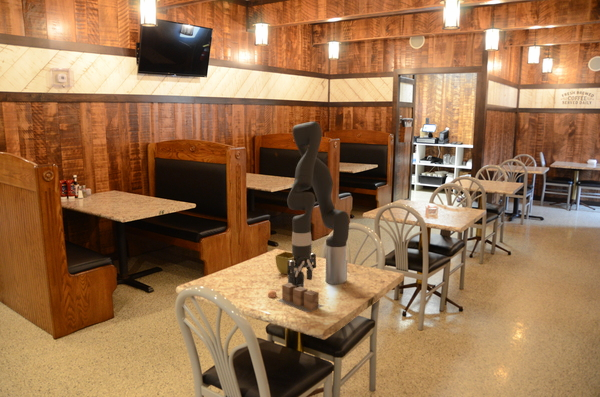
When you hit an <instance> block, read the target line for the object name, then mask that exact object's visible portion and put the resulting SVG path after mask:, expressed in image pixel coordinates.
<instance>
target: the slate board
mask: <svg viewBox="0 0 600 397" xmlns="http://www.w3.org/2000/svg"><path fill="white" fill-rule="evenodd" d="M277 302H279V303H282V304H285V305H287V306H290V307H292V308H295V309H298V310H301V311H303V312H306V313H310V312H313V311H315V310H317V309H320V308H322V307H324V305H323V304H320V303H319V306H318V308H316V309H313V310H310V309H307V308H304V305H302V306H299V305H296V304H294V303H293V301H290V302H288V301H286V300H283V299H282V298H281V299H278V300H277Z"/></svg>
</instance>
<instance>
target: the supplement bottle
mask: <svg viewBox="0 0 600 397" xmlns="http://www.w3.org/2000/svg"><path fill="white" fill-rule="evenodd" d="M296 268H297V267H296ZM297 269H298V268H297ZM290 272H291V271H290ZM295 272H296V271H295ZM295 272H294V273H295ZM287 283H292V278H291V276H289V275H287ZM300 286H301V287H303V288H305V287H304V286H305V273H304V272H303V269H301V270H300V272H299V273H298V275H297V286H296V288H297V287H300Z"/></svg>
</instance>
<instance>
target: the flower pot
mask: <svg viewBox="0 0 600 397" xmlns="http://www.w3.org/2000/svg"><path fill="white" fill-rule="evenodd" d="M274 258H275V265H276V268H277V270H278V271H279V273H280V274H284V275H287V265H288V260H293V259H294V256H293V254H292V252H290V251H283V252H281V253H279V254H278V253H277V254H276V255H275V257H274ZM290 271H291V270H290Z"/></svg>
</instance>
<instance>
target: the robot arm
mask: <svg viewBox="0 0 600 397" xmlns="http://www.w3.org/2000/svg"><path fill="white" fill-rule="evenodd" d="M322 132H323V131H322V127H321V126H320V123H318V122H317V121H309V122H304V123H298V124H296V125H294V126H293V128H292V137H293V140H294V142H295V145H296V148H297V149H298V152H299V154H300V156H301V158H300V160H299V161H298V163H297V165H296V167H295V172H294V173H295V174H294V180H293V181H294V182H293V184H292V187H291V189H290V191H289V193H288V196H287V199H286V202H287V206H288V208H289V209H290V210H293V211H304V213H303V214H300V215H295V216H293V218H292V234H291V249H292V250H291V253H292V254H293V256H294V259H293V260H288V265H287V274H286V275H287V276H288V275H289V276H291V278H292V285H294V286H297V275H298V273H299V272H300V270H301V269H302V270H303V269H304V268H305V269H306V279H307V281H308V280H309V281H312V279H313V270H314V269H316V268H317V257H316V256H317V254H316V253H313V252H312V233H311V232H312V231H311V224H312V223H311V222H312V215H313V214H312V213H313V211H314V207H315V205H316V204H315V202H316V200H317V203H318V207H319V211H320V216H321V220H322V223H323V225H324V226H325V227H326V228H327V229H330V230H332V231H333V232H332V236H328V237H326V238H325V281H324V282H326V283H328V284H329V285H342V284H345V283H346V281H348V260H347V242H348V239H349V232H350V231H349V230H350V217H349V216H350V215H349V214H348V212H347V211H345V210H343V209H342V210H341V209H337V208H335V206H334V205H335V204H334V203H333V200H332V192H333V189H334V180H333V176H332V174H331V170H330V169H329V167H328V165H326V164H325V163H324V162H323V161H322V160H321V159H320V158H319V157H317V156H318V154H319V149H320V146H321V143H322V142H321V141H322V139H323V138H322V136H323V135H322V134H323V133H322ZM311 188H312V189H313V192H310V191H307V190H310V189H311ZM296 267H297V268H298V269H297V268H296ZM290 270H291V272H290ZM302 270H301V271H302ZM295 271H296V272H295ZM294 272H295V273H294Z"/></svg>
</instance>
